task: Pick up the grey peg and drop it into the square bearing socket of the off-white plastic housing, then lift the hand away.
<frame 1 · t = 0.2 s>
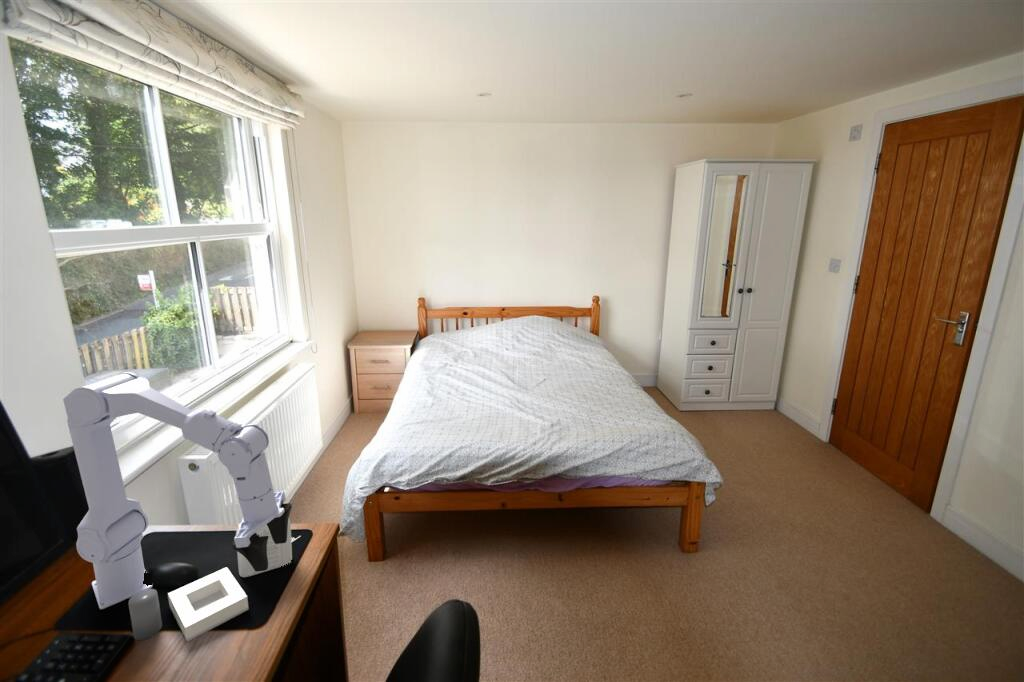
hand: (271, 555, 88), 11 cm above the table, tool pointing down, fingers open, 7 cm apart
housing: (209, 608, 88), on the table
grey peg: (148, 630, 83), on the table
photo printer: (266, 567, 100), on the table
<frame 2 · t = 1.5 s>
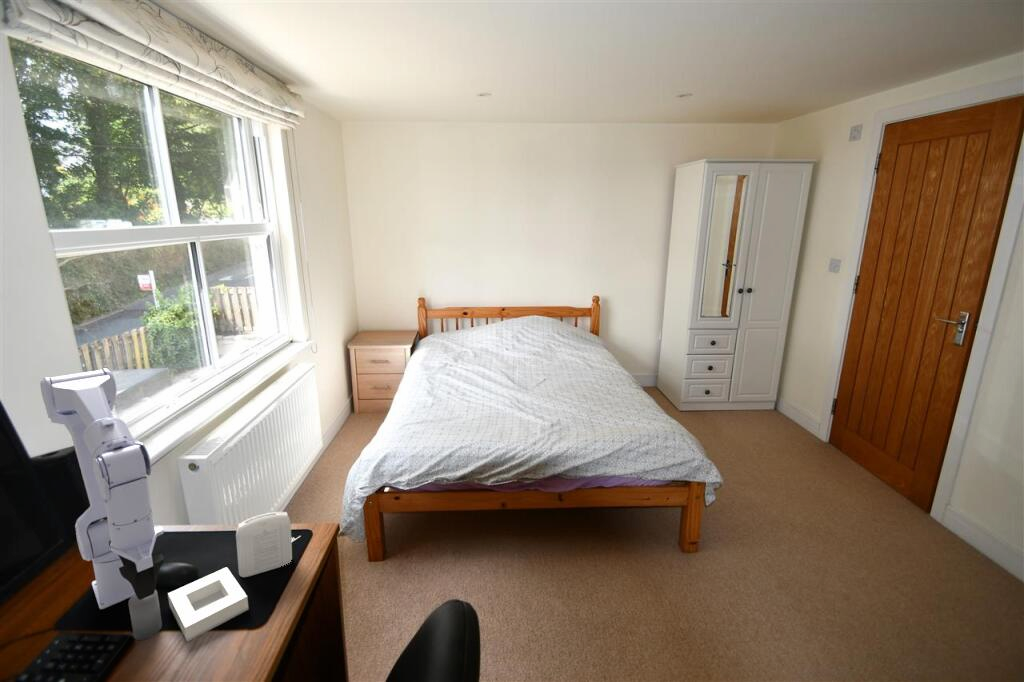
hand: (140, 583, 80), 10 cm above the table, tool pointing down, fingers open, 7 cm apart
nothing on the table moved.
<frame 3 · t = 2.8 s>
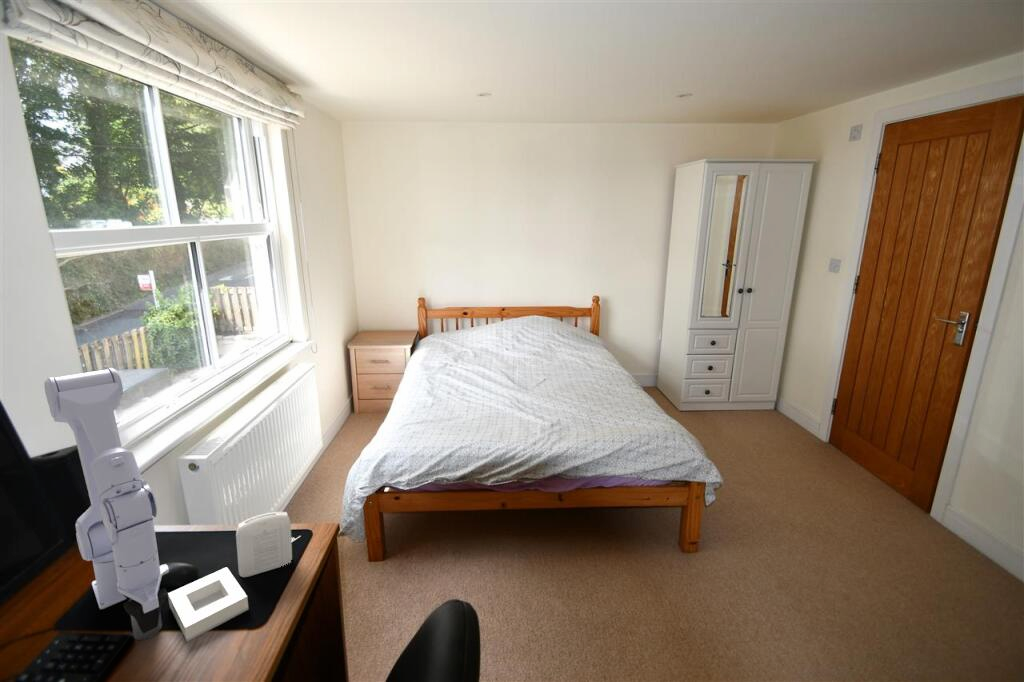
hand: (146, 621, 82), 2 cm above the table, tool pointing down, fingers closed on grey peg, 4 cm apart
grey peg: (148, 630, 83), on the table, touching gripper
everything else where it was.
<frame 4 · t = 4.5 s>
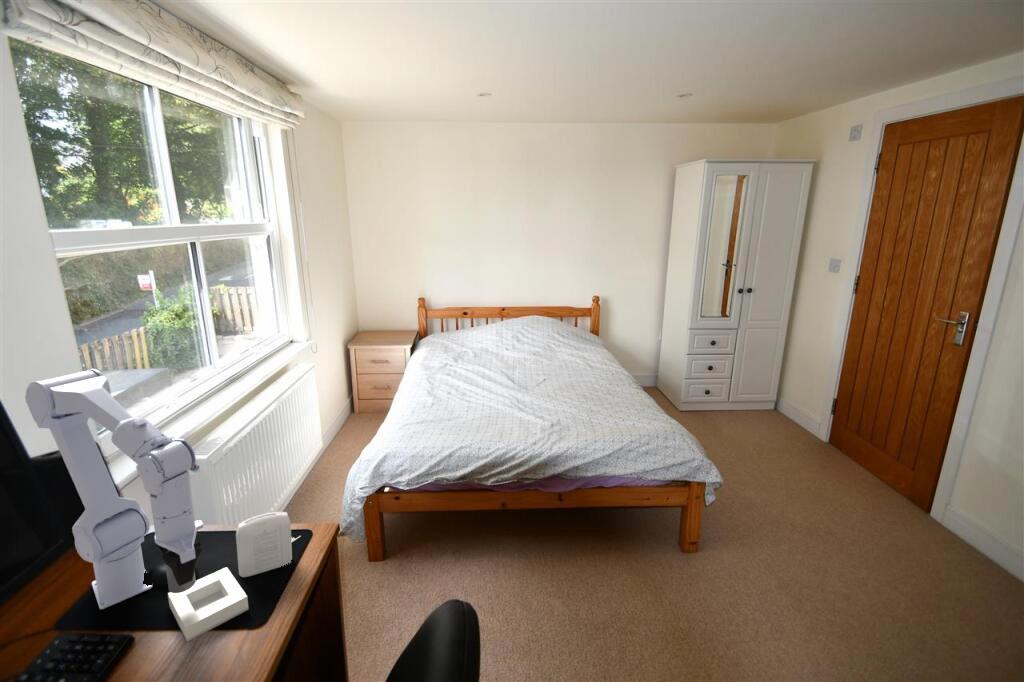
hand: (181, 575, 84), 9 cm above the table, tool pointing down, fingers closed on grey peg, 4 cm apart
grey peg: (182, 584, 84), point 7 cm above the table, touching gripper
everything else where it was.
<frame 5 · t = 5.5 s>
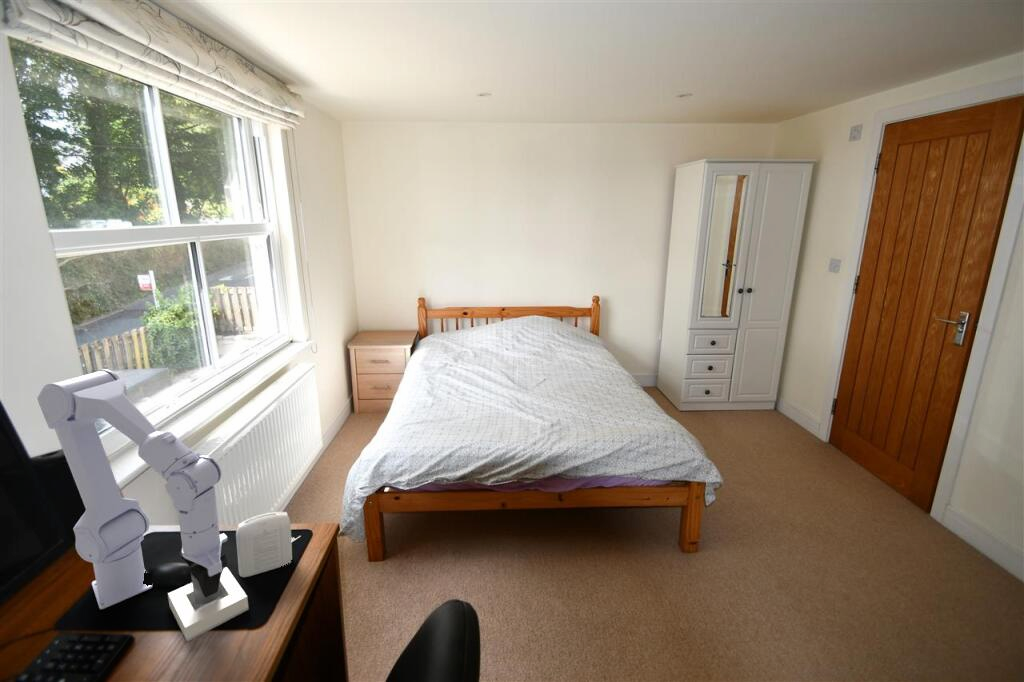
hand: (206, 587, 87), 5 cm above the table, tool pointing down, fingers closed on grey peg, 4 cm apart
grey peg: (207, 596, 87), point 3 cm above the table, touching gripper
everything else where it was.
when the fingers open (4 cm above the table, at t = 6.0 s): grey peg drops 2 cm, resting on housing.
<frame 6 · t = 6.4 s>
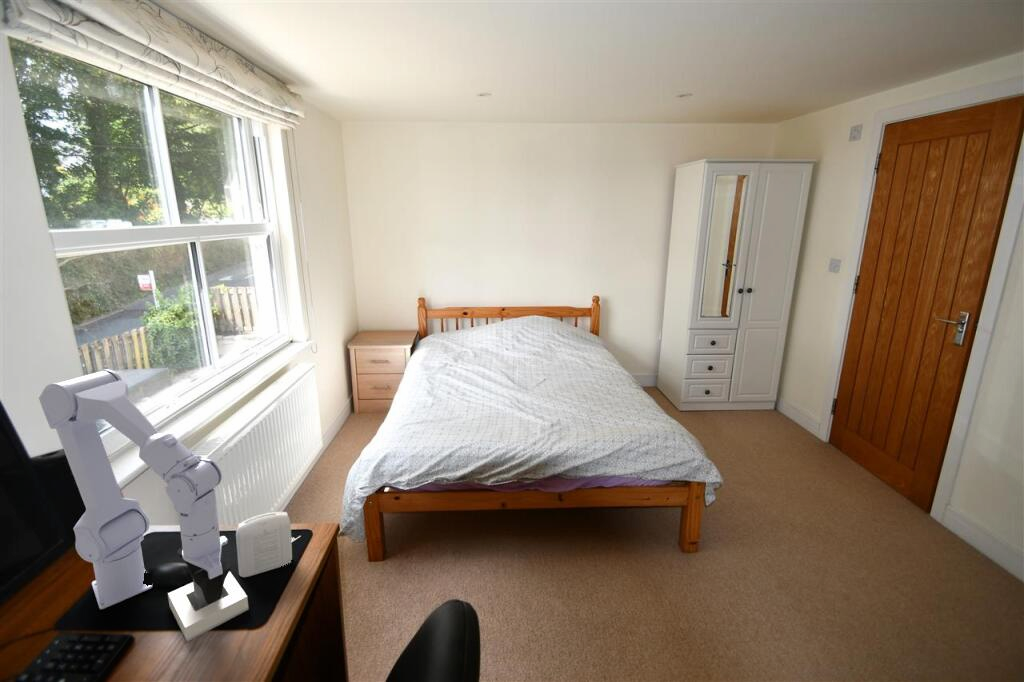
hand: (207, 589, 87), 4 cm above the table, tool pointing down, fingers open, 7 cm apart
grey peg: (208, 605, 88), point 1 cm above the table, touching housing
everything else where it was.
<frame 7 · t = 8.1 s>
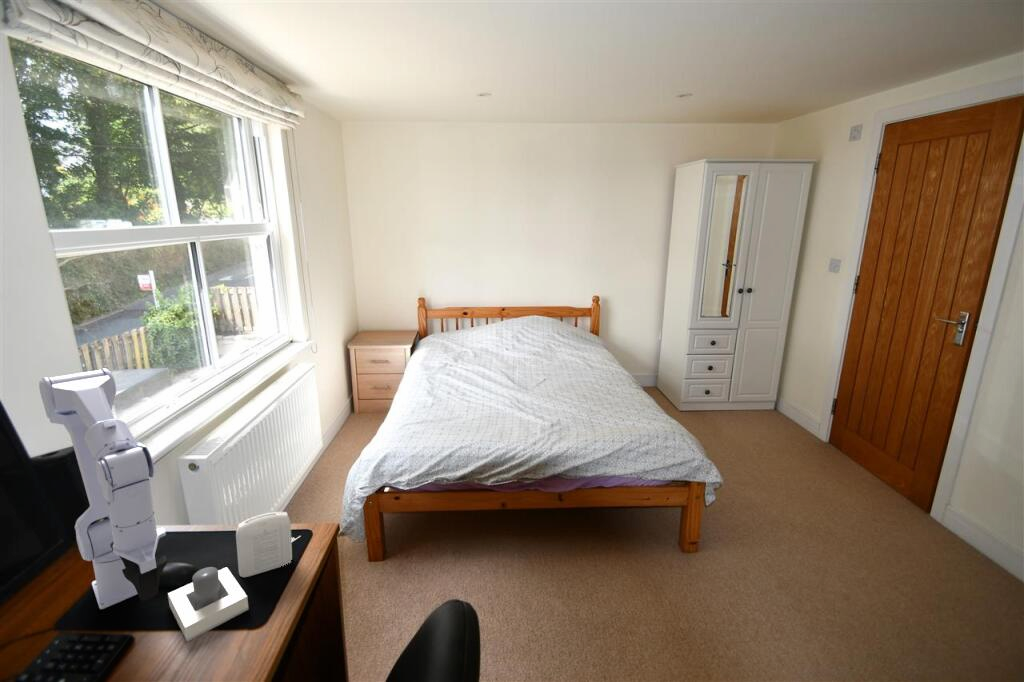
hand: (143, 585, 81), 9 cm above the table, tool pointing down, fingers open, 7 cm apart
nothing on the table moved.
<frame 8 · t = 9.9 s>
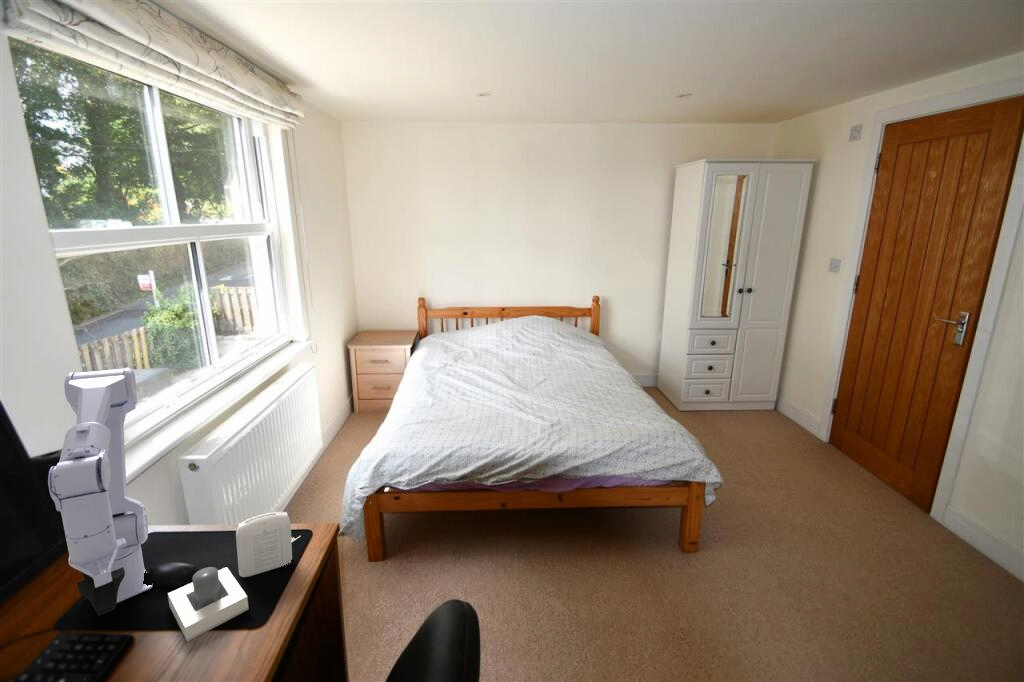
hand: (102, 598, 78), 9 cm above the table, tool pointing down, fingers open, 7 cm apart
nothing on the table moved.
at the end: grey peg 0.0 cm off-centre on the housing, point 0.5 cm above the housing's base; grey peg tilted 1°; the gripper is holding nothing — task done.
